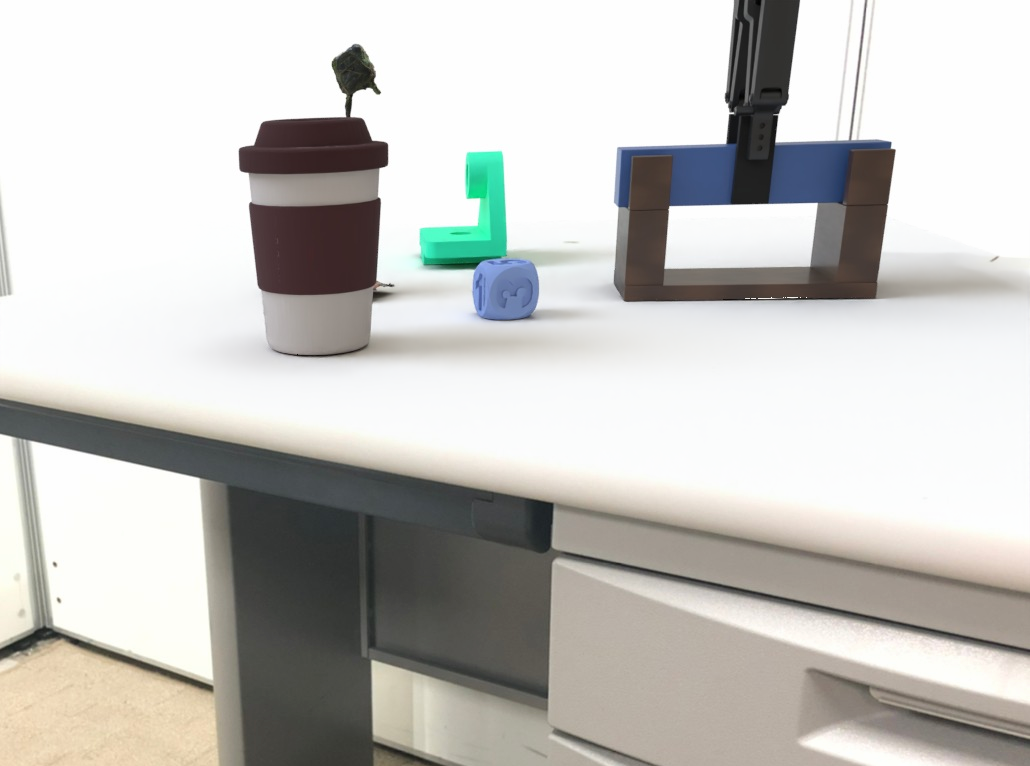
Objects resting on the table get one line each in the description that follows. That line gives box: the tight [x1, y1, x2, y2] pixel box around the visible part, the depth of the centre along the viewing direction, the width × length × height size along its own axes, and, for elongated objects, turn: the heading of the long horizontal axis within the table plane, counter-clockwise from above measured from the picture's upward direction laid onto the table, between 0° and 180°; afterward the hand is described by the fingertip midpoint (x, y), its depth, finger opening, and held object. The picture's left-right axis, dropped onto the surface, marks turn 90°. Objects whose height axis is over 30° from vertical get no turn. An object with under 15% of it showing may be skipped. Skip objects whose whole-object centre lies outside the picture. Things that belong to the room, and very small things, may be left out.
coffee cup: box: [238, 116, 389, 356], centre depth 81 cm, size 10×10×15 cm
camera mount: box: [419, 150, 508, 266], centre depth 118 cm, size 12×8×10 cm, turn 178°
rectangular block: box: [613, 138, 893, 208], centre depth 95 cm, size 20×4×4 cm, turn 81°
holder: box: [613, 147, 897, 302], centre depth 96 cm, size 19×9×11 cm, turn 81°
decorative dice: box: [472, 258, 540, 321], centre depth 91 cm, size 4×4×4 cm
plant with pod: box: [331, 43, 395, 292], centre depth 100 cm, size 8×11×20 cm
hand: (743, 200), depth 96 cm, fingers closed on rectangular block, 4 cm apart
